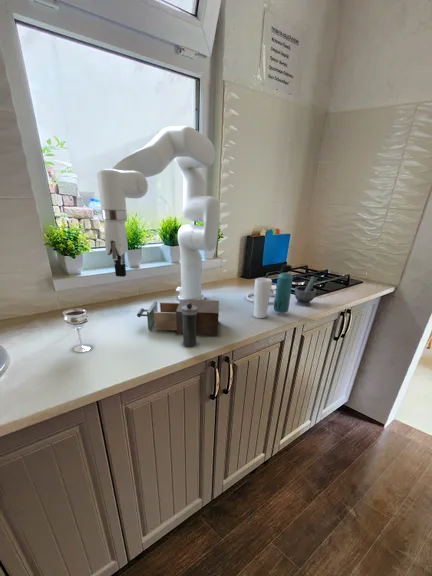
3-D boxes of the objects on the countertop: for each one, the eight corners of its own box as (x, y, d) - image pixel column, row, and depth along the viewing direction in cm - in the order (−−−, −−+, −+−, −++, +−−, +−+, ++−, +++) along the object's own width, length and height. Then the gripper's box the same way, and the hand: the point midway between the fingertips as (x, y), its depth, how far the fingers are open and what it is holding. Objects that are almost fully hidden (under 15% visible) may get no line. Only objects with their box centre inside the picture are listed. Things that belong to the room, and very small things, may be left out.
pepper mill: (179, 344, 107) (177, 302, 100) (188, 340, 111) (188, 299, 103) (190, 348, 105) (190, 306, 97) (200, 344, 108) (200, 302, 101)
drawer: (135, 330, 114) (133, 311, 111) (143, 317, 126) (142, 300, 122) (186, 332, 114) (185, 313, 111) (189, 319, 126) (189, 302, 122)
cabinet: (176, 334, 114) (176, 311, 110) (181, 320, 127) (180, 299, 122) (217, 336, 114) (218, 313, 110) (218, 322, 127) (219, 300, 122)
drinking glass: (267, 319, 131) (271, 282, 123) (250, 318, 132) (254, 281, 124) (268, 314, 136) (272, 278, 128) (252, 313, 137) (255, 277, 130)
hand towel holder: (239, 290, 152) (261, 282, 166) (239, 299, 154) (261, 291, 168) (271, 297, 143) (291, 288, 157) (270, 306, 145) (290, 297, 160)
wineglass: (70, 345, 103) (62, 309, 97) (92, 343, 106) (85, 307, 100) (71, 354, 98) (62, 316, 92) (94, 351, 101) (87, 314, 94)
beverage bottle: (288, 312, 140) (296, 264, 129) (286, 317, 134) (294, 267, 124) (274, 310, 141) (280, 262, 131) (271, 315, 136) (277, 265, 126)
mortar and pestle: (305, 308, 145) (310, 281, 139) (288, 303, 151) (292, 277, 145) (319, 303, 152) (324, 277, 146) (302, 299, 158) (306, 274, 152)
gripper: (110, 214, 108) (116, 271, 117) (94, 217, 95) (103, 280, 104) (132, 215, 108) (136, 272, 117) (120, 218, 95) (126, 281, 104)
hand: (121, 275), depth 111 cm, fingers closed
